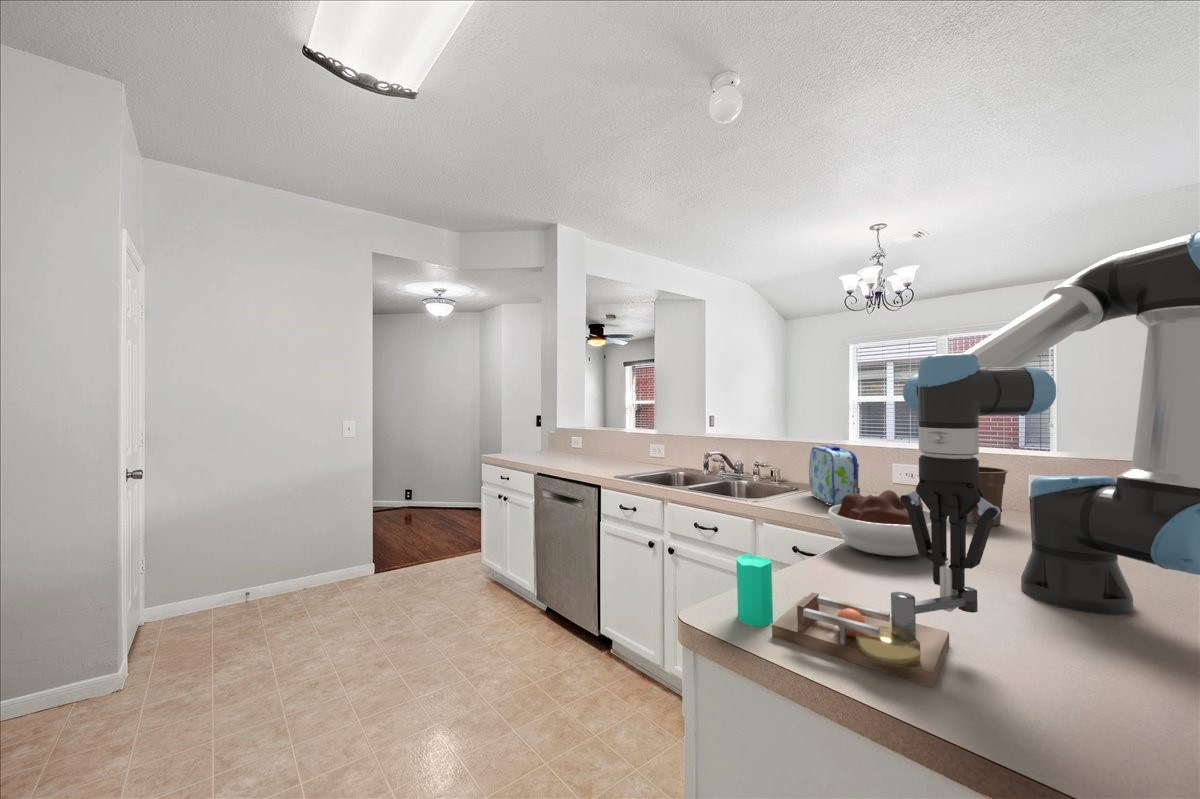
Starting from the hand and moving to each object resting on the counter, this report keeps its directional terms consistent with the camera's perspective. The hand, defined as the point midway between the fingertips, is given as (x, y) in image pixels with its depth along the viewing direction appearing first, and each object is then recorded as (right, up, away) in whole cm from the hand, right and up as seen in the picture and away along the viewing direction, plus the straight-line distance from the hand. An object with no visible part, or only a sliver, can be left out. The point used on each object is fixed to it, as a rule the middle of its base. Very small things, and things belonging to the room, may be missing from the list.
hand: (948, 607), depth 75 cm
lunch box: (+33, -6, +105) cm, 111 cm away
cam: (-7, -4, -4) cm, 9 cm away
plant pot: (+60, -5, +73) cm, 95 cm away
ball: (-15, -4, 0) cm, 16 cm away
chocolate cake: (+18, -6, +47) cm, 51 cm away
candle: (-26, -7, +12) cm, 29 cm away
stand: (-12, -7, +3) cm, 14 cm away
